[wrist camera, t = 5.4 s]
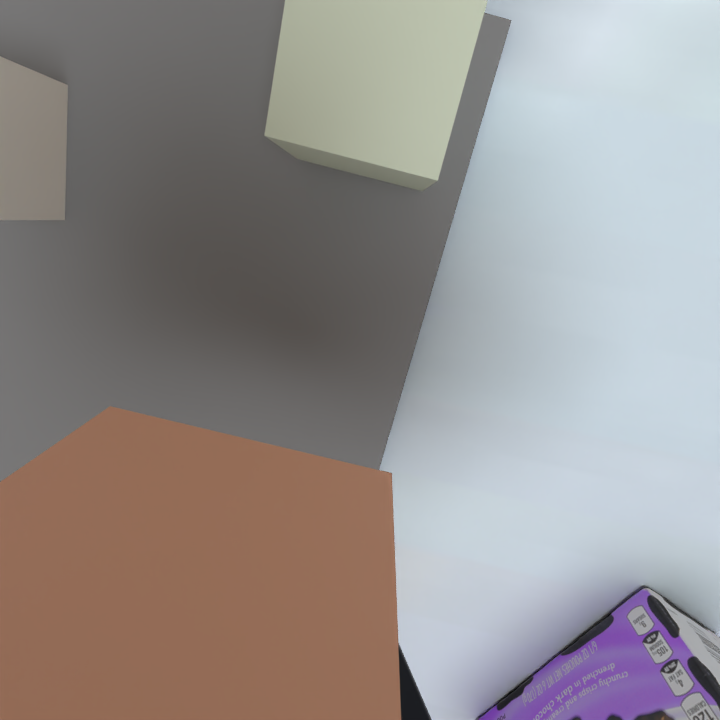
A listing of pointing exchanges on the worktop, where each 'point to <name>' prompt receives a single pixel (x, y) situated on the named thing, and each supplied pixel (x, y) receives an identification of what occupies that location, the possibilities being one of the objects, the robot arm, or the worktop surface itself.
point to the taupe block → (32, 144)
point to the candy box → (627, 670)
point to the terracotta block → (195, 580)
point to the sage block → (372, 84)
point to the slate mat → (210, 241)
